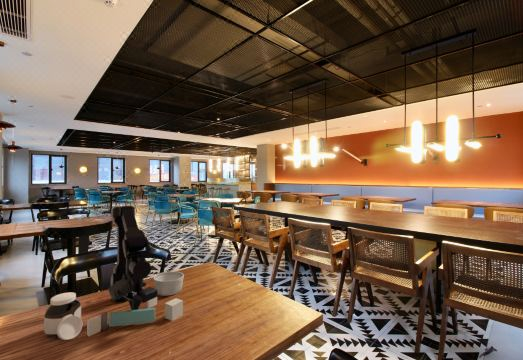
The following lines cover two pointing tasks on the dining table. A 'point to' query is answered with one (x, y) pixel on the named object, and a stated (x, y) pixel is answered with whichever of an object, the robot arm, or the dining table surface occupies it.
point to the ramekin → (168, 283)
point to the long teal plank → (131, 317)
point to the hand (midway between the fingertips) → (134, 313)
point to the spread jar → (63, 317)
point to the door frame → (99, 321)
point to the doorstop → (173, 309)
